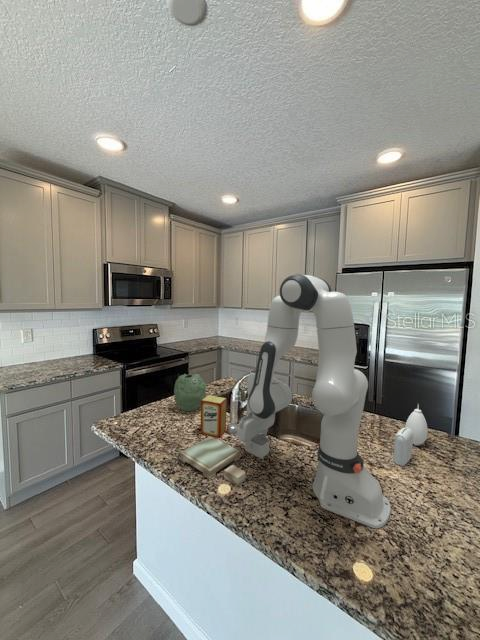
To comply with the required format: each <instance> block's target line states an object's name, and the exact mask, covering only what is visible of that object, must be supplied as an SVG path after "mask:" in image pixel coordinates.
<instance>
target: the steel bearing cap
mask: <svg viewBox="0 0 480 640" xmlns="http://www.w3.org/2000/svg"><path fill="white" fill-rule="evenodd" d="M238 428H239V424H237V423H232V422H231V423H226V434H228V435H232V436H233V435H238Z"/></svg>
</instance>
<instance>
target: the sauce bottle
mask: <svg viewBox="0 0 480 640" xmlns="http://www.w3.org/2000/svg"><path fill="white" fill-rule="evenodd" d="M419 405H420V404H419V403H417V408H415V409H413V411H412V412H411V413H410V415H409V416H408V418H407V420H406V422H405V425H404V428H405V427H407V428H410V429H411V430H412V431H413V444H414V445H413V444H412V445H413V446H421V445H423V444H424V443H425V441H426V439H427V438H428V423H427V421H426V418H425V416H424V414H423V412H422V410H421V409H419V407H420V406H419Z"/></svg>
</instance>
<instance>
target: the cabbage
mask: <svg viewBox="0 0 480 640" xmlns="http://www.w3.org/2000/svg"><path fill="white" fill-rule="evenodd" d="M174 383H175V384H174V389H173V394H174V401H175V404H176V405H177V406H178V407H179V408H180V409H181V410H183V411H185V412H192V411H196V410H197V409H199V408H201V400H202V399H203V398H205V397H206V396H207V395H206V394H207V393H206V392H207V391H208V390H207V383H206V382H205V381H204V378H202V376H201V375H200V374H199V373H195V374H193V373H192V374H191V373H190V374H186V373H184V374H181V375H179V376H178V378H177V379H176V381H175V382H174Z"/></svg>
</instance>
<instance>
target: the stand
mask: <svg viewBox="0 0 480 640" xmlns="http://www.w3.org/2000/svg"><path fill="white" fill-rule="evenodd" d="M240 459H241V450H239V449H237V448H235V447H233V446H232V445H229V444H227V443H226V442H224V441H221V440H219V439H218V438H215V437H211V436H208V437H207V438H205V439H203V440H201V441H199V442H197V443H195V444H193V445H191V446H190V447H187V448H186V449H184V450H182V451H180V452H179V461H181V462H182V463H184V464H186V463H187V464H189V465H190V466H192V467H193V468H195V469H197V470H198V471H200V472H202V475H203V477H205V478H206V479H208V480H211V479H213V478H214V477H215V476H217V472H219V471H220V470H221V469H223V468H225V467H226V466H228V465H229V464H231V463H232V462H234V463H236V462H237V461H239V460H240Z"/></svg>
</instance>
